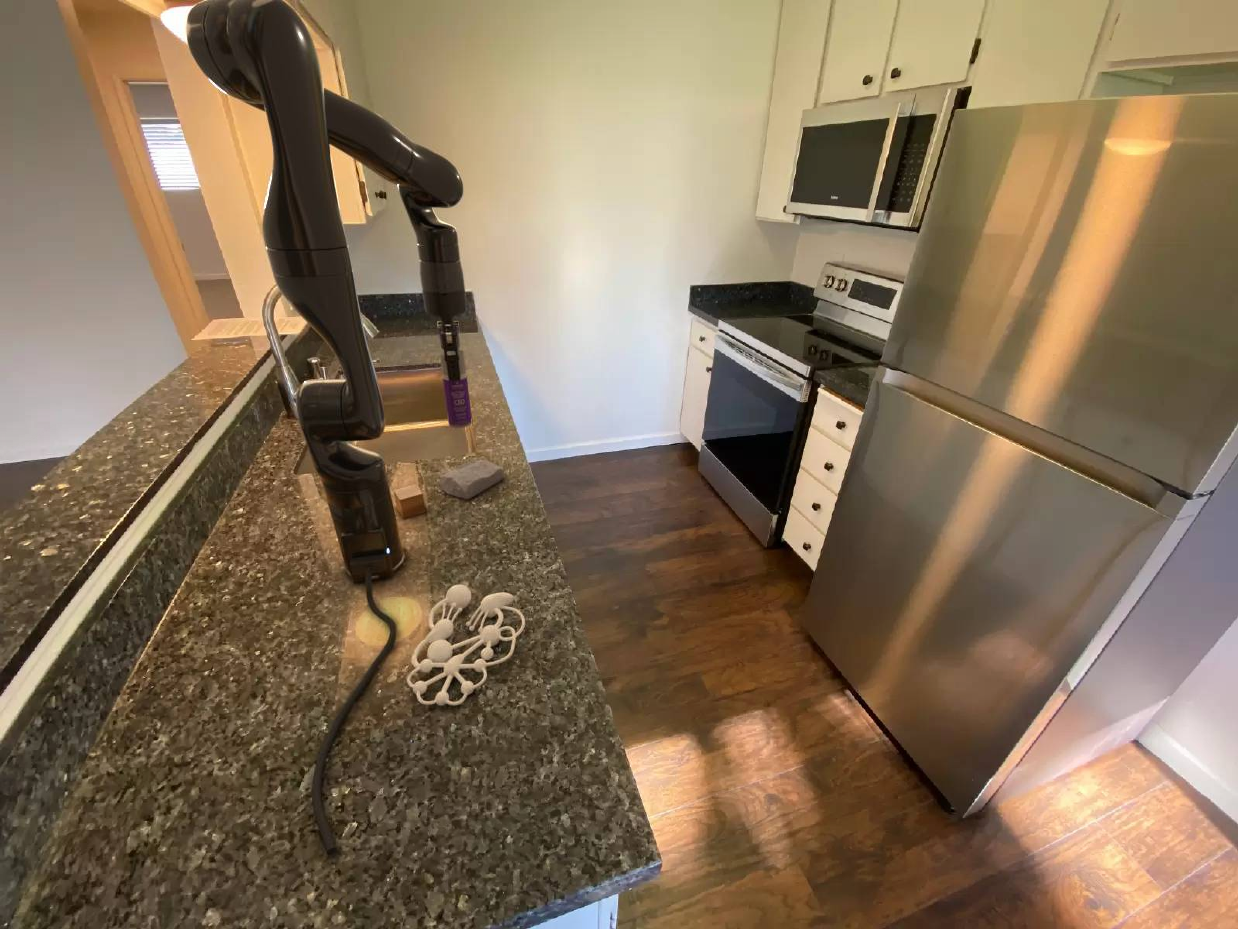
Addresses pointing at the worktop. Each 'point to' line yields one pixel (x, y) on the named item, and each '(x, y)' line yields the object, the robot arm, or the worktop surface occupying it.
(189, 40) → the robot arm
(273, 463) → the worktop surface
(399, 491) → the oak cube
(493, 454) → the worktop surface
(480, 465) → the stone block
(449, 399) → the container
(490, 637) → the tangled rod sculpture
